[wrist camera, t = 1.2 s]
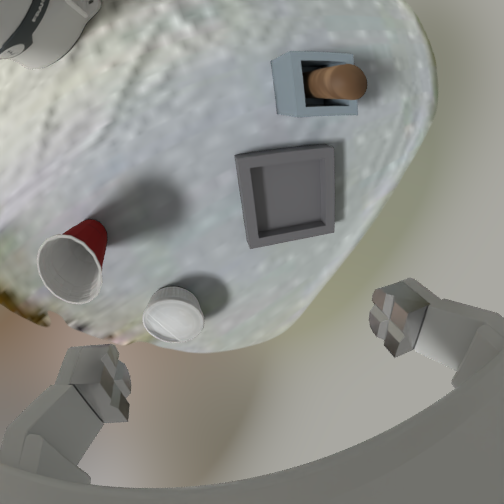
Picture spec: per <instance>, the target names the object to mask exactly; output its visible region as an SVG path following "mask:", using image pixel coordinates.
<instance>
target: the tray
mask: <svg viewBox="0 0 504 504" xmlns="http://www.w3.org/2000/svg"><path fill="white" fill-rule="evenodd" d="M235 162H236V169H237V176H238V183H239V190H240V196H241V203H242V210H243V217H244V223H245V230H246V237H247V242H248V245H249V247H250V249H253V248H258V247H263V246H268V245H273V244H278V243H283V242H288V241H293V240H298V239H303V238H309V237H314V236H319V235H324V234H329V233H334V224H335V169H334V147H332V146H329V145H327V144H320V145H309V146H299V147H290V148H281V149H273V150H266V151H259V152H252V153H245V154H239V155H235Z"/></svg>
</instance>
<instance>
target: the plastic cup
mask: <svg viewBox="0 0 504 504" xmlns="http://www.w3.org/2000/svg"><path fill="white" fill-rule="evenodd" d="M106 244H107V232H106V230H105V228H104V226H103V225H102V224H101V223H100V222H98V221H96V220H92V219H88V220H85V221H82V222H81V223H79V224H78V225H76V226H74V227H72V228H71V229H69V230H68V231H66V232H65V233H63V234H62V235H61V234H57V235H55V236H52V237H50V238H48V239H46V240H45V241H44V243H43V244H42V245H41V247H40V248H39V251H38V256H37V266H38V271H39V275H40V277H41V279H42V281H43V283H44V284H45V286H46V287H47V288H48V289H49V290H50V291H51V292H52V293H53V294H54V295H55V296H56V297H58V298H59V299H61V300H63V301H65V302H67V303H73V304H79V305H80V304H83V303H87V302H91V301H92V300H93V299H94V298H95V297H96V296H97V295H98V294H99V292H100V289H101V286H102V283H103V279H102V264H103V260H104V255H105V250H106Z"/></svg>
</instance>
